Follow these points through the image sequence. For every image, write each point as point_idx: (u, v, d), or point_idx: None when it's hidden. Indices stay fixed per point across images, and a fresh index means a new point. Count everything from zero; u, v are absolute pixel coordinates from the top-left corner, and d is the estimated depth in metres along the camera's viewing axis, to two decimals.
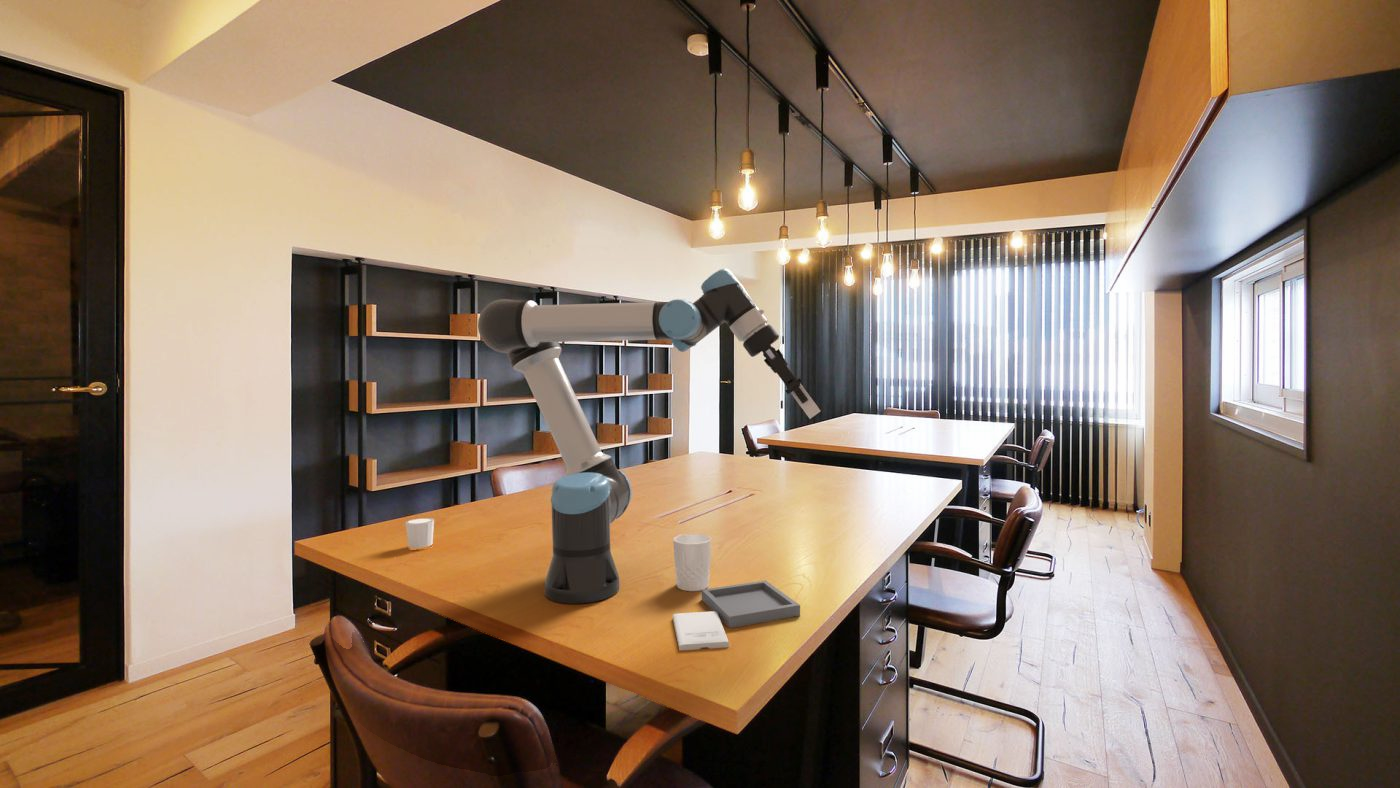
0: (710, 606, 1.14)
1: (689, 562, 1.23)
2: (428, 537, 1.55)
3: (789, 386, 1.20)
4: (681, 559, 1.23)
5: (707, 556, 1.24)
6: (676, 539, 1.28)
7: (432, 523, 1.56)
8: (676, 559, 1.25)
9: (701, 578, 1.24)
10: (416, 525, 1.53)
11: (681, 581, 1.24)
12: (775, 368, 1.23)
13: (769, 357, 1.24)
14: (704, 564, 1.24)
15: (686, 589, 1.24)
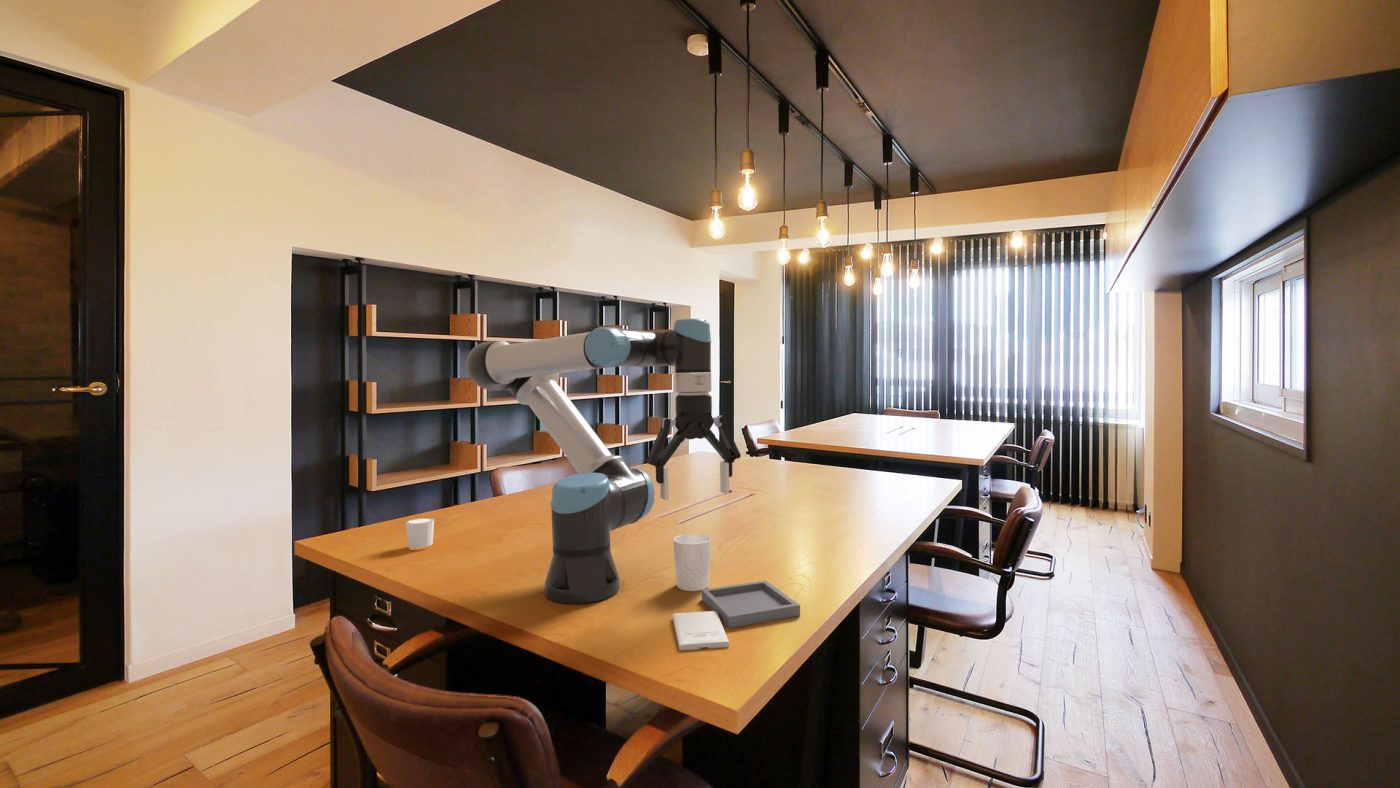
0: (710, 606, 1.14)
1: (689, 562, 1.23)
2: (428, 537, 1.55)
3: (647, 461, 1.23)
4: (681, 559, 1.23)
5: (707, 556, 1.24)
6: (676, 539, 1.28)
7: (432, 523, 1.56)
8: (676, 559, 1.25)
9: (701, 578, 1.24)
10: (416, 525, 1.53)
11: (681, 581, 1.24)
12: (656, 438, 1.23)
13: (661, 425, 1.23)
14: (704, 564, 1.24)
15: (686, 589, 1.24)
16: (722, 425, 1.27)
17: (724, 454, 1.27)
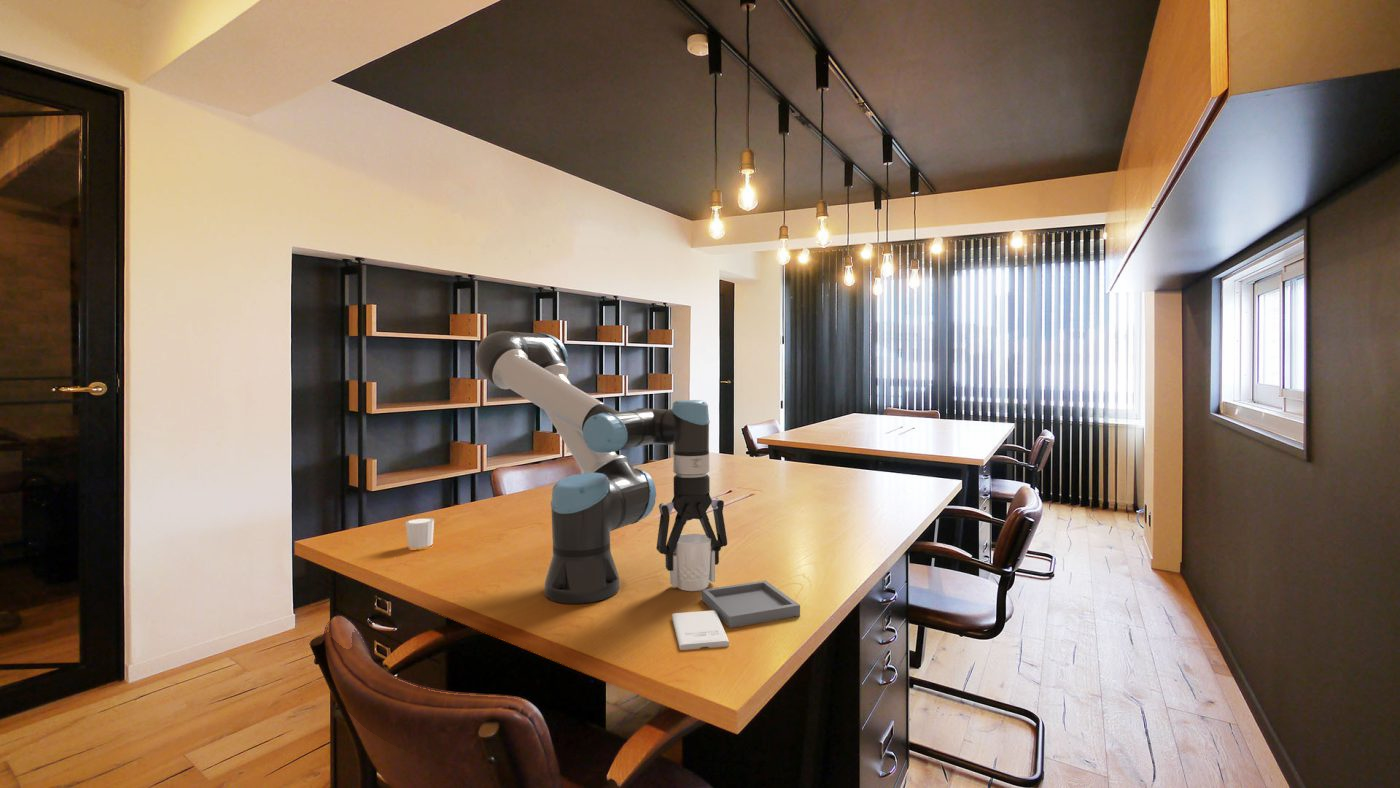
0: (710, 606, 1.14)
1: (689, 562, 1.23)
2: (428, 537, 1.55)
3: (657, 548, 1.24)
4: (681, 559, 1.23)
5: (707, 556, 1.24)
6: None
7: (432, 523, 1.56)
8: None
9: (701, 578, 1.24)
10: (416, 525, 1.53)
11: (681, 581, 1.24)
12: (659, 525, 1.25)
13: (660, 512, 1.24)
14: (704, 564, 1.24)
15: (686, 589, 1.24)
16: (718, 509, 1.27)
17: (712, 540, 1.27)
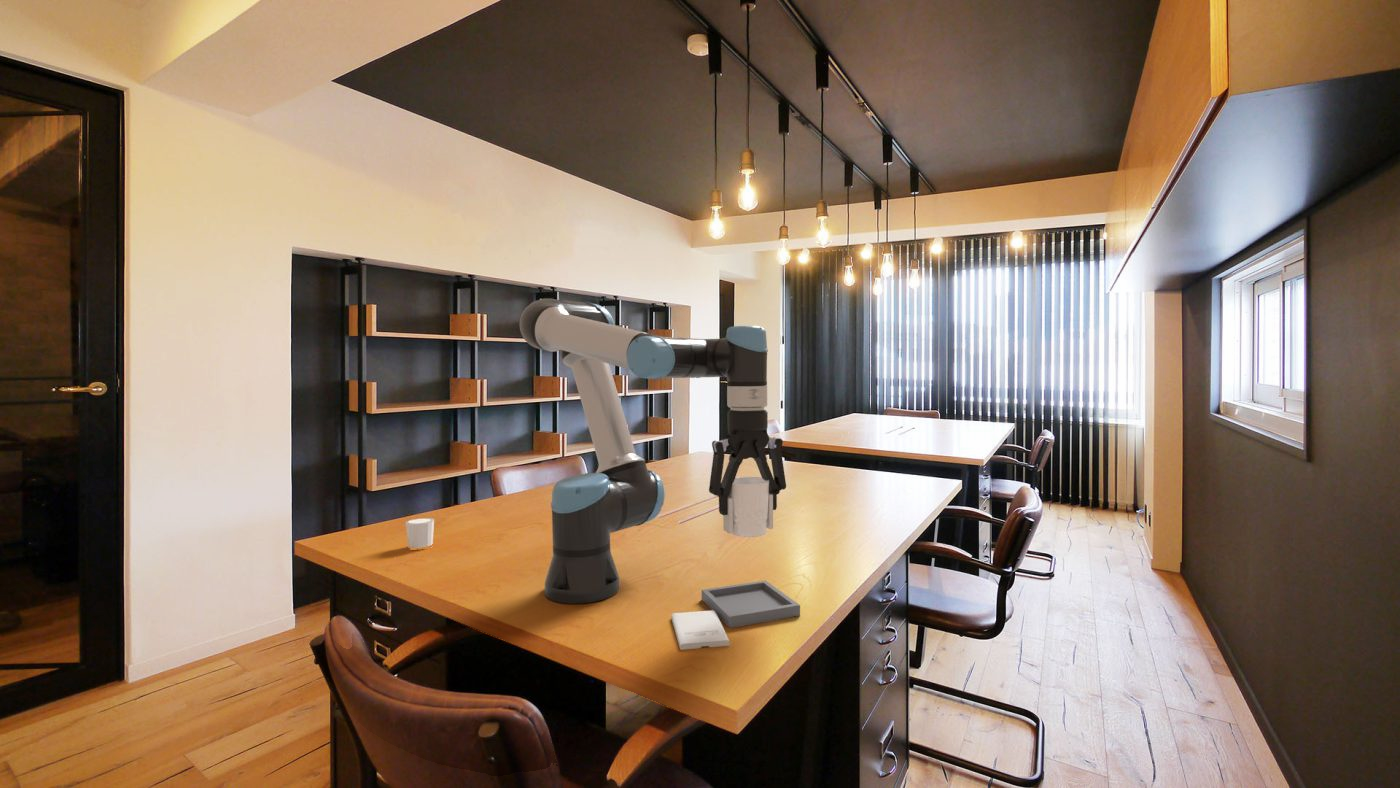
0: (710, 606, 1.14)
1: (746, 504, 1.10)
2: (428, 537, 1.55)
3: (709, 490, 1.12)
4: (737, 501, 1.11)
5: (766, 498, 1.12)
6: None
7: (432, 523, 1.56)
8: None
9: (759, 522, 1.11)
10: (416, 525, 1.53)
11: (737, 526, 1.11)
12: (712, 464, 1.12)
13: (714, 449, 1.12)
14: (763, 507, 1.11)
15: (743, 535, 1.11)
16: (776, 448, 1.14)
17: (770, 483, 1.14)
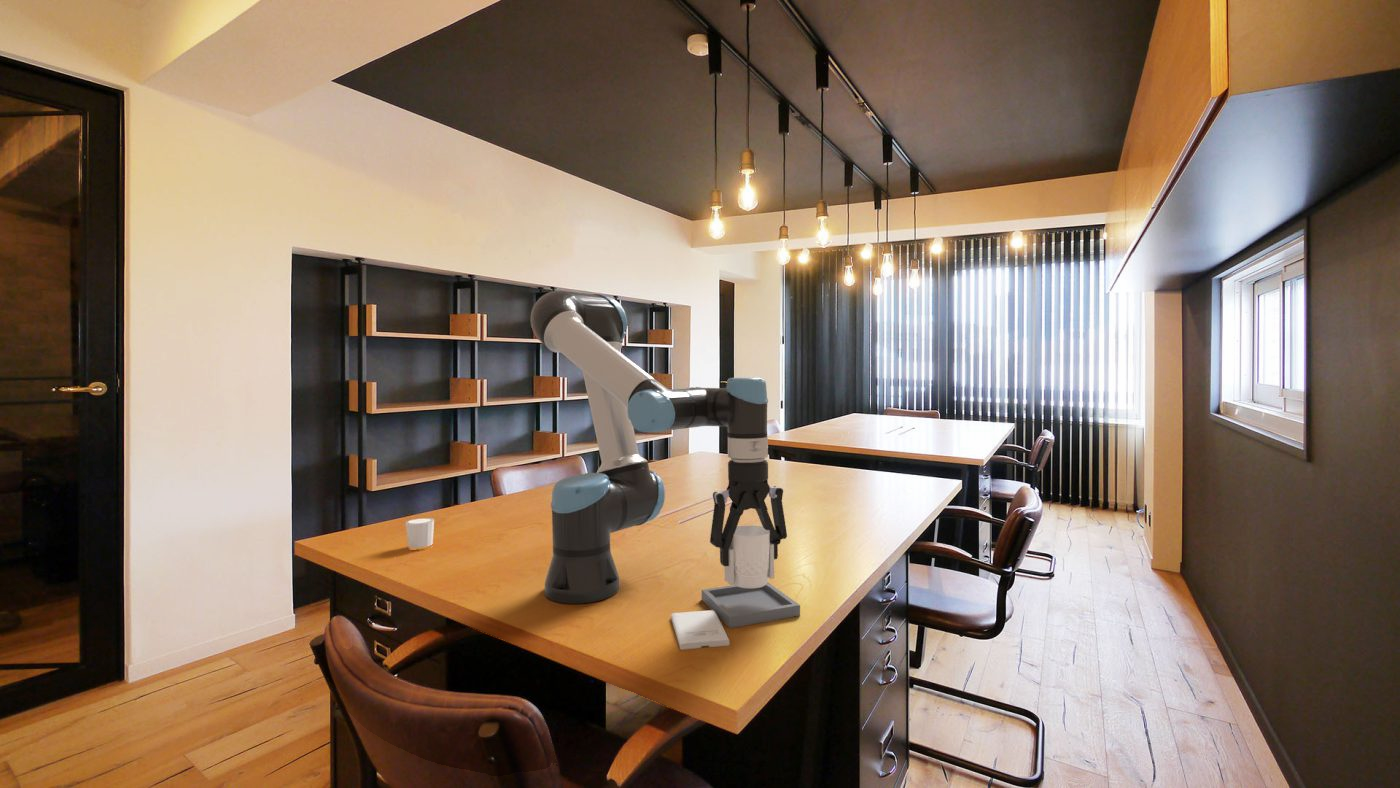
0: (710, 606, 1.14)
1: (747, 556, 1.11)
2: (428, 537, 1.55)
3: (710, 541, 1.12)
4: (738, 552, 1.11)
5: (767, 549, 1.12)
6: None
7: (432, 523, 1.56)
8: None
9: (760, 574, 1.11)
10: (416, 525, 1.53)
11: (739, 577, 1.12)
12: (713, 515, 1.12)
13: (715, 501, 1.12)
14: (764, 558, 1.11)
15: (744, 586, 1.11)
16: (777, 498, 1.15)
17: (771, 532, 1.14)
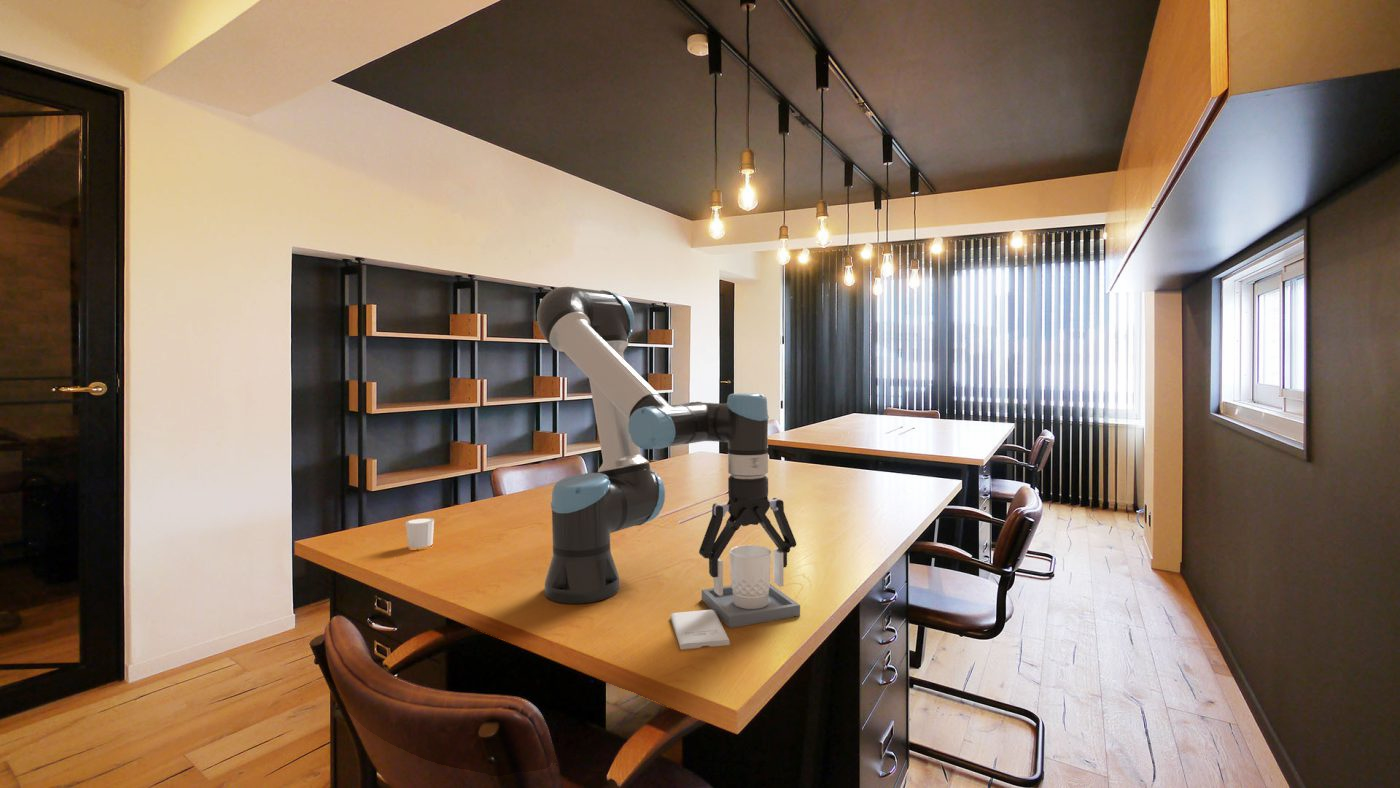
0: (710, 606, 1.14)
1: (749, 577, 1.11)
2: (428, 537, 1.55)
3: (699, 552, 1.12)
4: (739, 573, 1.12)
5: (768, 570, 1.13)
6: (732, 551, 1.16)
7: (432, 523, 1.56)
8: (733, 574, 1.13)
9: (761, 594, 1.12)
10: (416, 525, 1.53)
11: (740, 598, 1.12)
12: (708, 526, 1.12)
13: (713, 512, 1.12)
14: (765, 579, 1.12)
15: (745, 607, 1.12)
16: (779, 510, 1.15)
17: (779, 542, 1.15)
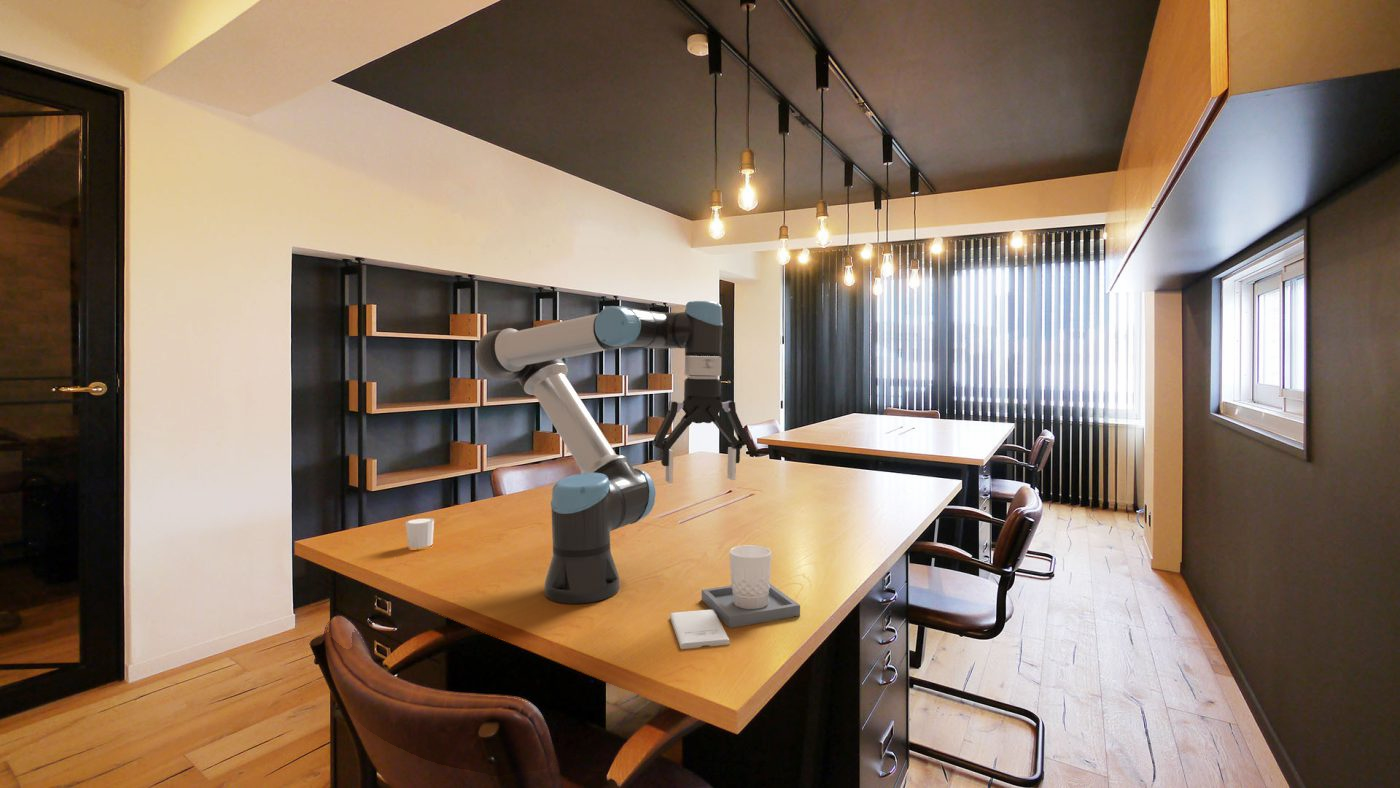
0: (710, 606, 1.14)
1: (749, 577, 1.11)
2: (428, 537, 1.55)
3: (653, 443, 1.22)
4: (739, 573, 1.12)
5: (768, 570, 1.13)
6: (732, 551, 1.16)
7: (432, 523, 1.56)
8: (733, 574, 1.13)
9: (761, 595, 1.12)
10: (416, 525, 1.53)
11: (740, 598, 1.12)
12: (663, 420, 1.23)
13: (669, 408, 1.22)
14: (765, 579, 1.12)
15: (745, 607, 1.12)
16: (731, 410, 1.25)
17: (732, 440, 1.25)
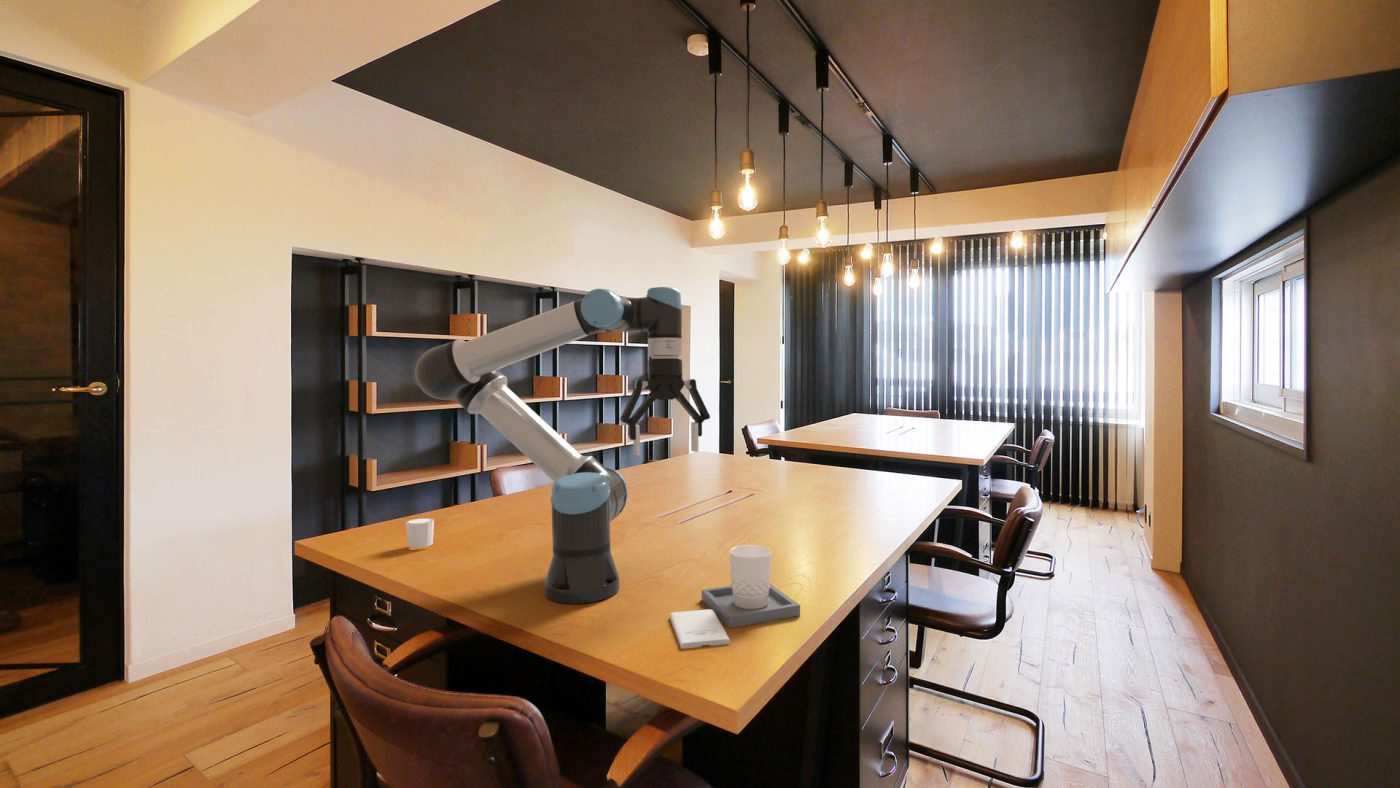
0: (710, 606, 1.14)
1: (749, 577, 1.11)
2: (428, 537, 1.55)
3: (620, 419, 1.32)
4: (739, 573, 1.12)
5: (768, 570, 1.13)
6: (732, 551, 1.16)
7: (432, 523, 1.56)
8: (733, 574, 1.13)
9: (761, 595, 1.12)
10: (416, 525, 1.53)
11: (740, 598, 1.12)
12: (630, 398, 1.33)
13: (634, 386, 1.33)
14: (765, 579, 1.12)
15: (745, 607, 1.12)
16: (692, 387, 1.36)
17: (694, 415, 1.36)
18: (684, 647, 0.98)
